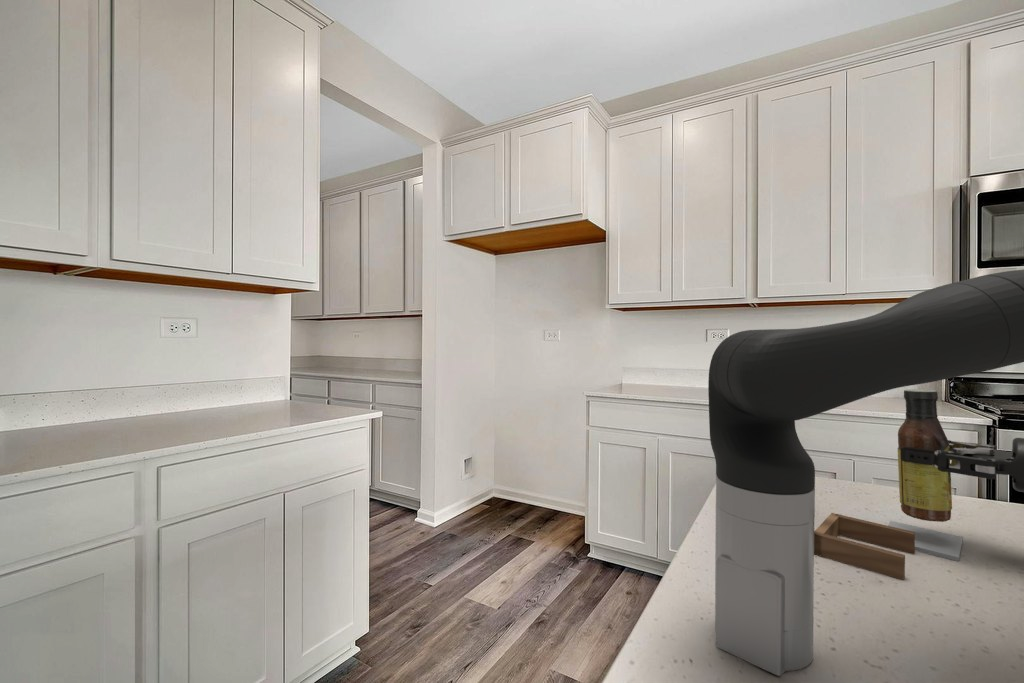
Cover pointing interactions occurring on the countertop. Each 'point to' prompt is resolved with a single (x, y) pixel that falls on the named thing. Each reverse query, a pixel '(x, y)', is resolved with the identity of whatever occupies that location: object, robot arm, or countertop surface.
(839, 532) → the walnut cradle
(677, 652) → the countertop surface
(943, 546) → the felt mat
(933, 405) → the sauce bottle
